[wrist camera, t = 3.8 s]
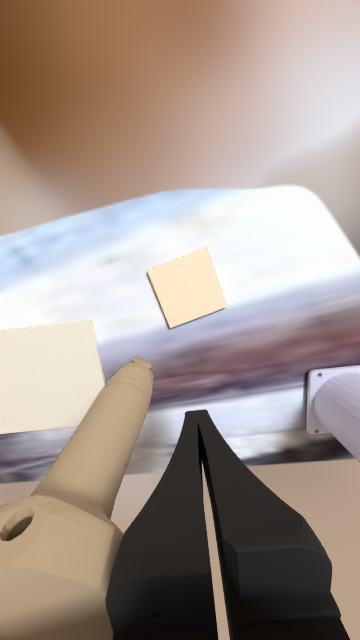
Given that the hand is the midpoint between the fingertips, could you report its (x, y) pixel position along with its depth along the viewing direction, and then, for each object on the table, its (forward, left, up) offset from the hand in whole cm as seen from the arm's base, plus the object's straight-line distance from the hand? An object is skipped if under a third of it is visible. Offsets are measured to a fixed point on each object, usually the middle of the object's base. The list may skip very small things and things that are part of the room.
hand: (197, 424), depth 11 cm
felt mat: (+19, 0, -8) cm, 21 cm away
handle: (+5, 0, -9) cm, 10 cm away
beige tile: (-1, -8, -9) cm, 12 cm away
